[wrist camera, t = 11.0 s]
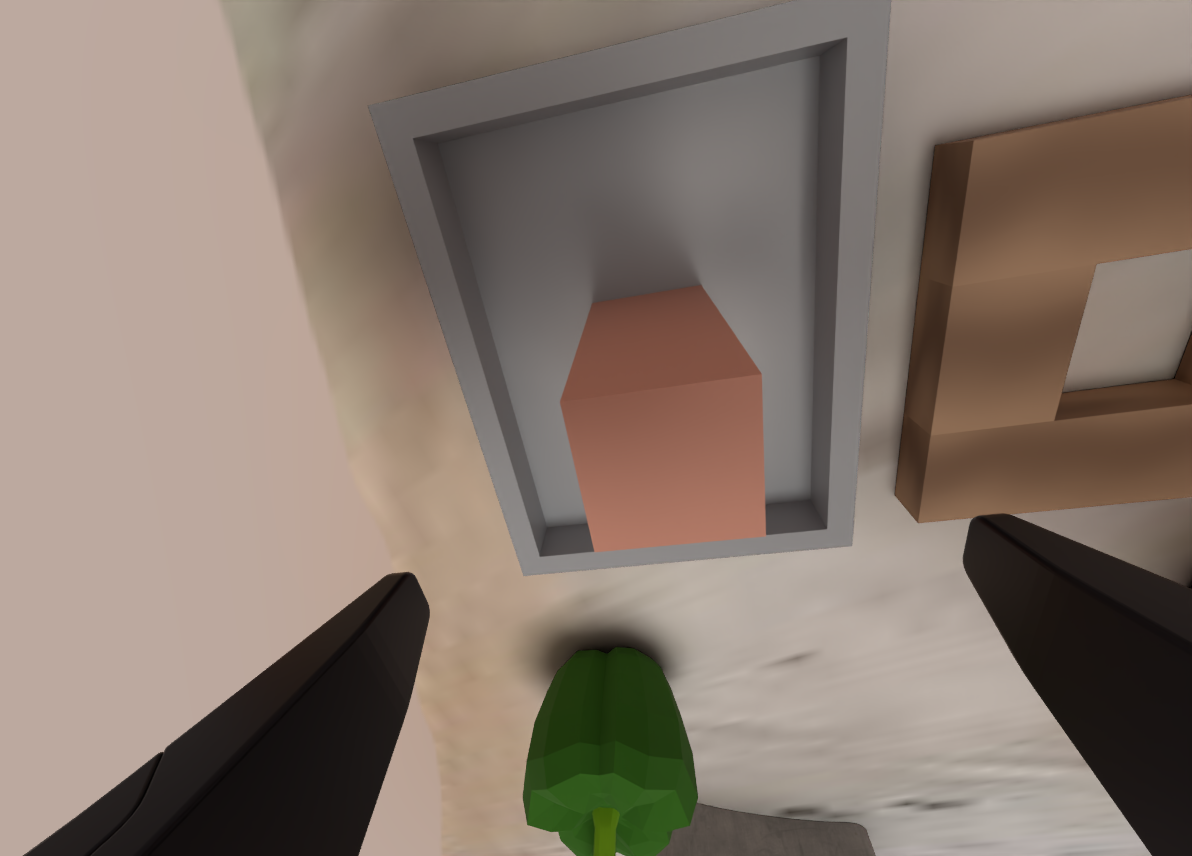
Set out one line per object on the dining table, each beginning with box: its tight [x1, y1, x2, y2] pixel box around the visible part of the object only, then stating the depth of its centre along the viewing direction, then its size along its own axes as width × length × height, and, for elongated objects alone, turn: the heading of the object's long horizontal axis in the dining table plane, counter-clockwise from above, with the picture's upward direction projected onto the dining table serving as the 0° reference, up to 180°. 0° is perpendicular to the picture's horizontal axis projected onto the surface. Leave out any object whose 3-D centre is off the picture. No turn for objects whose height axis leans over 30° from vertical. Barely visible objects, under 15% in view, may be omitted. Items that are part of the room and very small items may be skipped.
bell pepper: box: [523, 647, 698, 856], centre depth 24 cm, size 8×8×10 cm
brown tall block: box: [560, 285, 766, 552], centre depth 14 cm, size 4×4×9 cm
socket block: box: [895, 95, 1192, 523], centre depth 17 cm, size 14×14×2 cm
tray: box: [368, 0, 891, 576], centre depth 18 cm, size 18×14×3 cm
